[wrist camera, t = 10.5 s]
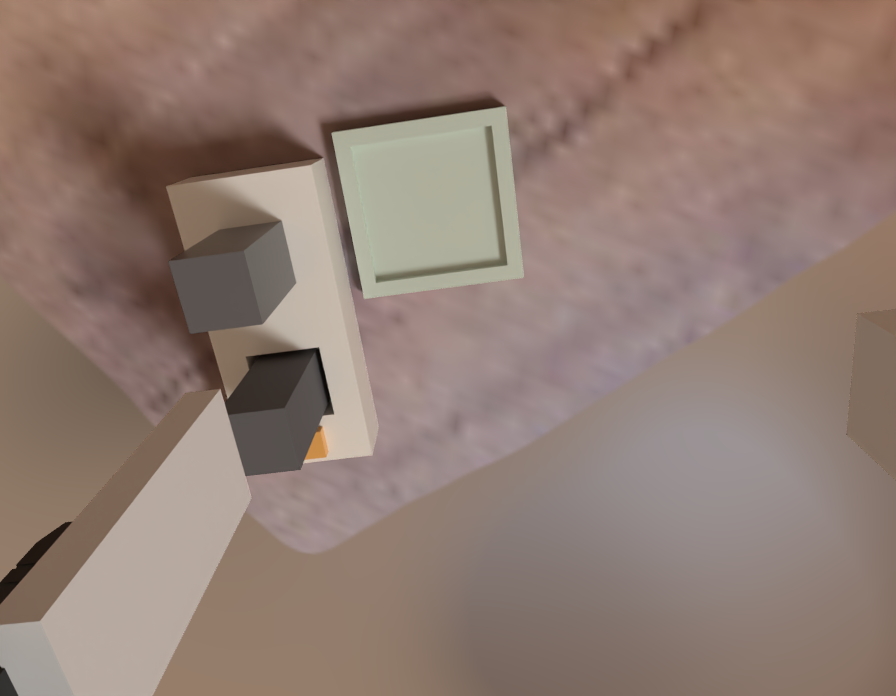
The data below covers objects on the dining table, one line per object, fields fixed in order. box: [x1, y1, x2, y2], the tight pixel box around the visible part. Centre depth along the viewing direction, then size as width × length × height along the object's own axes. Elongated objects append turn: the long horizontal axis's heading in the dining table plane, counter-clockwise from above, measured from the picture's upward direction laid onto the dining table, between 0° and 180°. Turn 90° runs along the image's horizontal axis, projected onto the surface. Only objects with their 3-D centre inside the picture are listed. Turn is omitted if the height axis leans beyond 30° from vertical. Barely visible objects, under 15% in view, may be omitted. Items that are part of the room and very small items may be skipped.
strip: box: [166, 158, 379, 463], centre depth 43 cm, size 20×9×12 cm, turn 8°
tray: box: [332, 106, 524, 299], centre depth 45 cm, size 11×11×1 cm
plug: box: [225, 347, 330, 476], centre depth 44 cm, size 4×4×11 cm
